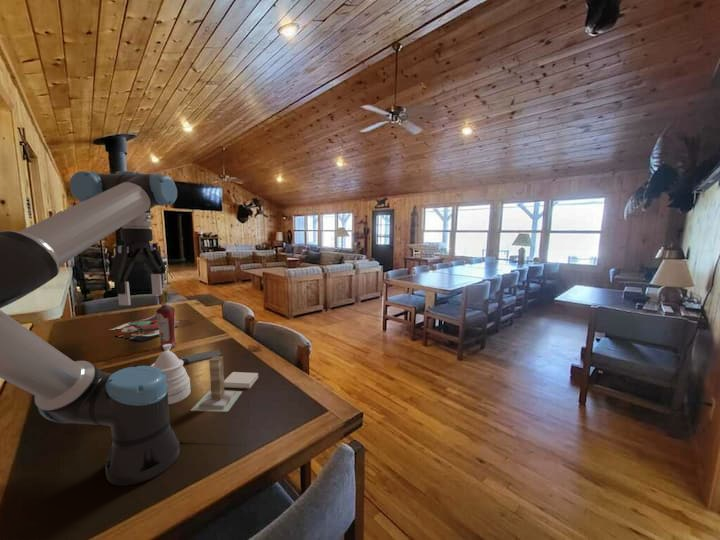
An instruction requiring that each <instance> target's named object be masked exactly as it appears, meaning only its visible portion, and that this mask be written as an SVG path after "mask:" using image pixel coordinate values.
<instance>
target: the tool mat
mask: <svg viewBox="0 0 720 540" xmlns="http://www.w3.org/2000/svg"><path fill="white" fill-rule="evenodd" d="M235 391H236V390H235ZM210 393H211V390H208V391H207V392H206V393H205V394H204V395H203V397H202V398H201V399H200V400H198V402H197V403H196V404H195V405H194V406H193V407H192V408H191V409H190V410H189V411H190V412H224V413H225V412H226V413H227V412H229V411H230V410H231V408H232V407H233V406H234V404H235V403H236V401H237V400H238V399H239V397H240V396H241V395H242V393H243V391H242V390H241V391H239V390H237V391H236V394H235V395H234V396H233V398H232V399H231V400H230V402H229V403H228V404H227V406H226V407H225V408H224V409H221V408H199V405H200V404H201V403H202V402H203V401H204V399H205V398H206V397H207V396H208V395H209V394H210Z"/></svg>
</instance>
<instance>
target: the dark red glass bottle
mask: <svg viewBox="0 0 720 540" xmlns="http://www.w3.org/2000/svg"><path fill="white" fill-rule="evenodd" d="M168 292H169V291H168V290H167V289H162V294H161V305H160V306H161V307H158V308H157V309H156V310H155V311H156V315H157V321H158V323H157V324H158V327H159V335H160V336H159V343H160V344H159V348H160V349H162V350H164V349H163V345H165V344H172V346H171V349H173V348H174V347H175V346H176V345H177V342H176V334H175V333H176V328H175V326H176V324H175V321H176V315H175V314H176V313H175V308H174V307H173V306H170V305H169V299H168V295H169V294H168Z"/></svg>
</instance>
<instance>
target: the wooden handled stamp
mask: <svg viewBox="0 0 720 540" xmlns="http://www.w3.org/2000/svg"><path fill="white" fill-rule="evenodd" d="M208 360H209V361H208V362H209V373H210V374H209V377H210V391H211V393H210V394H209V395H208V396H207V397H206V398H205V399H204V401H203V402H202V403H201V404H200V405H199V408H221V409H224V408H225V407H226V406H227V404H228V403H229V402H230V400H231V399H232V398H233V396H234V395H235V394H236V390H225V387H224V380H225V378H224V377H225V376H224V375H225V374H224V357H223V355H222V356H213V357H212V358H211V359H208Z"/></svg>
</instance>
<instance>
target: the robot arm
mask: <svg viewBox="0 0 720 540" xmlns="http://www.w3.org/2000/svg"><path fill="white" fill-rule="evenodd" d="M175 183H176V182H175V181H174V180H173V179H172V177H170V176H168V175H166V174H158V173H142V172H138V171H129V170H118V171H116V172H115V173H97V172H95V171H84V170H80V171H77V172H74V173H73V174H72V176H71V177H70V179H69V191H70V193H71V195H72V197H74V198H75V199H76V200H77V201H79V202H78V203H77V204H75V205H72V206H70V207H68V208H66V209H64V210H62V211H60V212H57V213H55V214H53V215H52V216H49V217H47V218H45V219H42V220H41V221H38V222H36V223H34V224H31V225H30V226H27V227H26V228H23V229H21V230H19V231H16V230H10V229H9V230H6V229H5V230H1V231H0V379H1V380H4V381H6V382H7V383H9V384H12V385H13V386H15V387H18V388H19V389H21V390H23V391H26V392H28V393H29V394H30V395H33V396H34V403H35V405H36V407H37V410H38V412H39V414H40V415H41V416H42V417H43V418H44V419H46V420H48V421H50V422H51V421H52V422H55V423H58V424H78V425H79V424H80V425H81V424H82V425H95V426H97V425H98V426H106V427H107V426H108V427H110V430H111V439H112V443H111V447H110V449H109V453H108V456H107V459H106V463H105V476H106V477H105V478H106V480H107V481H108V482H109V483H110V484H112V485H115V486H131V485H132V486H133V485H137V484H141V483H144V482H145V481H149V480H151V479H153V478H155V477H157V476H159V475H160V474H162V473H163V472H164V471H166V470H168V469H169V468H170V467H171V466H172V465H173V464H174V463H175V462H176V461H177V459H178V457H179V455H180V452H181V449H180V441H179V438H178V437H177V435H176V434H175V432H174V430H173V428H172V426H171V423H170V422H171V421H170V408H169V407H170V406H169V405H168V385H167V382H166V376H165V374H164V372H163V371H162V370H160V369H158V368H156V367H152V366H151V365H137V366H135V367H134V366H128V367H124V368H122V369H119V370H117V371H114V372H113V373H112V372H111V373H108V372H105V371H102V370H101V369H99V368H98V367H96V366H95V365H94V364H93V363H91V362H89V361H87V360H76V361H74V360H73V359H71V358H70V357H69V356H67V355H66V354H64V353H63V352H61V351H59V350H58V349H57V348H55V347H54V346H52V345H51V344H50V343H48V342H47V341H45V340H44V339H43V338H41V337H40V336H38V335H37V334H35V333H34V332H33V331H31V330H30V329H28V328H27V327H26V326H24V325H23V324H21V323H20V322H18V321H16V320H15V319H14V318H13V317H11V316H9V315H8V314H7V313H5V312H4V311H3V310H1V309H2V308H4V307H7V306H8V305H10V304H13V303H15V302H17V301H18V300H20V299H22V298H24V297H25V296H27V295H29V294H31V293H32V292H33V291H36V290H37V289H39V288H41V287H42V286H43V285H46V284H47V283H48V282H49V281H52V280H53V279H54V278H55V277H57V276H58V275H59V273H60V267H62V265H64V264H65V263H67V262H69V261H70V260H72V259H73V258H75V257H76V256H79V255H80V254H81V253H83V252H84V251H86V250H89V248H91V247H92V246H94V245H95V244H97V243H99V242H100V241H101V240H103V239H105V238H106V237H108V236H110V235H111V234H113V233H114V232H116V231H117V230H119V231H120V240H121V242H124V245H116V246H115V247H114V249H115V252H114V253H115V254H114V257H113V260H112V265H111V267H110V271H109V273H108V278H107V279H108V281H109V282H111V283H115V288H116V294H117V298H118V305H119V306H131V304H132V303H131V294H130V293H131V291H130V283H129V282H130V281H127V280H128V278H129V276H130V273H131V271H132V270H133V267H134V265H135V264H136V263H137V262H138V261H141V260H143V262H144V263H145V264H146V265H147V267H148V269H149V270H150V271H151V272H152V273H151V274H150V280H151V292H152V295H161V294H162V290H163V286H162V285H163V284H162V283H163V280H162V275H165V273H166V271H167V268H166V265H165V262H164V260H163V258H162V256H161V253H160V251H159V247H158V246H159V245H158V243H157V242H155V243H154V242H152V241H153V240H154V238H153V230H152V228H150V227H152V225H153V224H152V215H151V213H152V212H151V209H152V208H154V207H156V206H160V207H163V206H170V205H173V204H174V203H175V202H176V200H177V198H178V188H177V186H176V184H175Z"/></svg>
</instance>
